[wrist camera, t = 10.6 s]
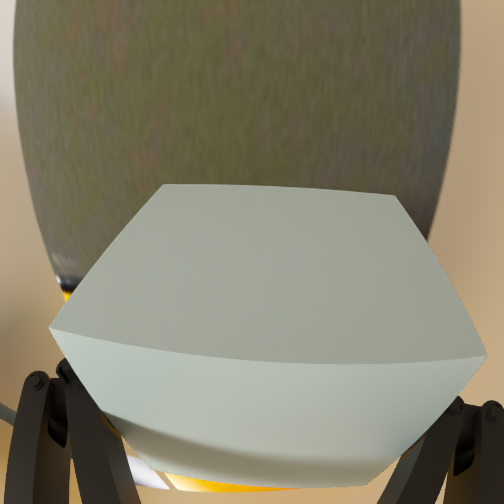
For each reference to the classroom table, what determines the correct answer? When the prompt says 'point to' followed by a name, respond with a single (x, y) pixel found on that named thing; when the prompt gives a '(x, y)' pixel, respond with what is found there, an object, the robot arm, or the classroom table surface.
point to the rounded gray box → (269, 334)
